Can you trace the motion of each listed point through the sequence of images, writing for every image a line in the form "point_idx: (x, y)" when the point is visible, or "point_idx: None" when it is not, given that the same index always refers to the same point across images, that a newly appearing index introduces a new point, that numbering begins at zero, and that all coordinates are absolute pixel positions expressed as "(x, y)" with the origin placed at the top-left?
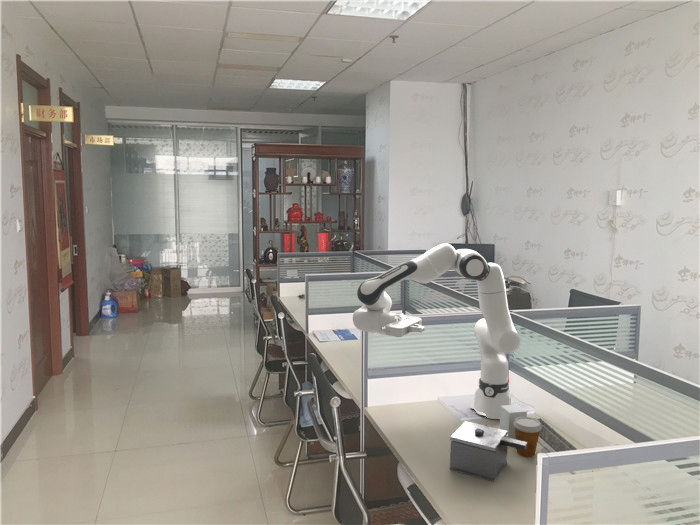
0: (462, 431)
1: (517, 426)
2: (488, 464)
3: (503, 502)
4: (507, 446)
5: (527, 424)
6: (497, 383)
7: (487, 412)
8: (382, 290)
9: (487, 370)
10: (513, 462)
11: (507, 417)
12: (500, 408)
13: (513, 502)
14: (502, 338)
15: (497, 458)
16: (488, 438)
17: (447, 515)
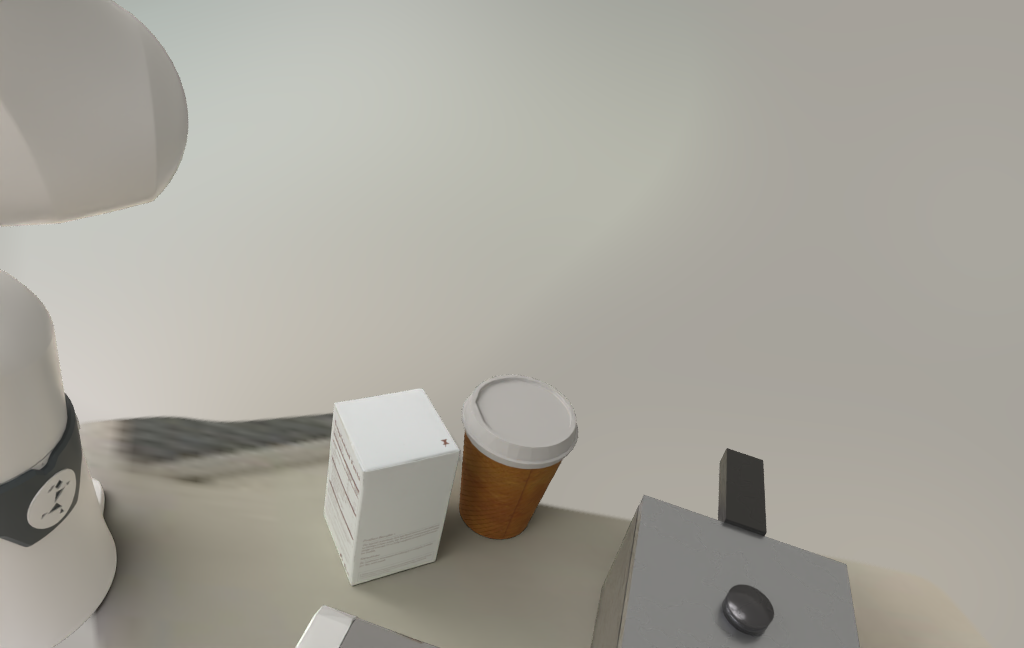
0: None
1: (558, 454)
2: None
3: (896, 635)
4: (623, 540)
5: (544, 416)
6: (65, 418)
7: (79, 594)
8: None
9: (4, 402)
10: (587, 563)
11: (440, 476)
12: (365, 482)
13: (872, 604)
14: (164, 103)
15: None
16: (771, 579)
17: None
